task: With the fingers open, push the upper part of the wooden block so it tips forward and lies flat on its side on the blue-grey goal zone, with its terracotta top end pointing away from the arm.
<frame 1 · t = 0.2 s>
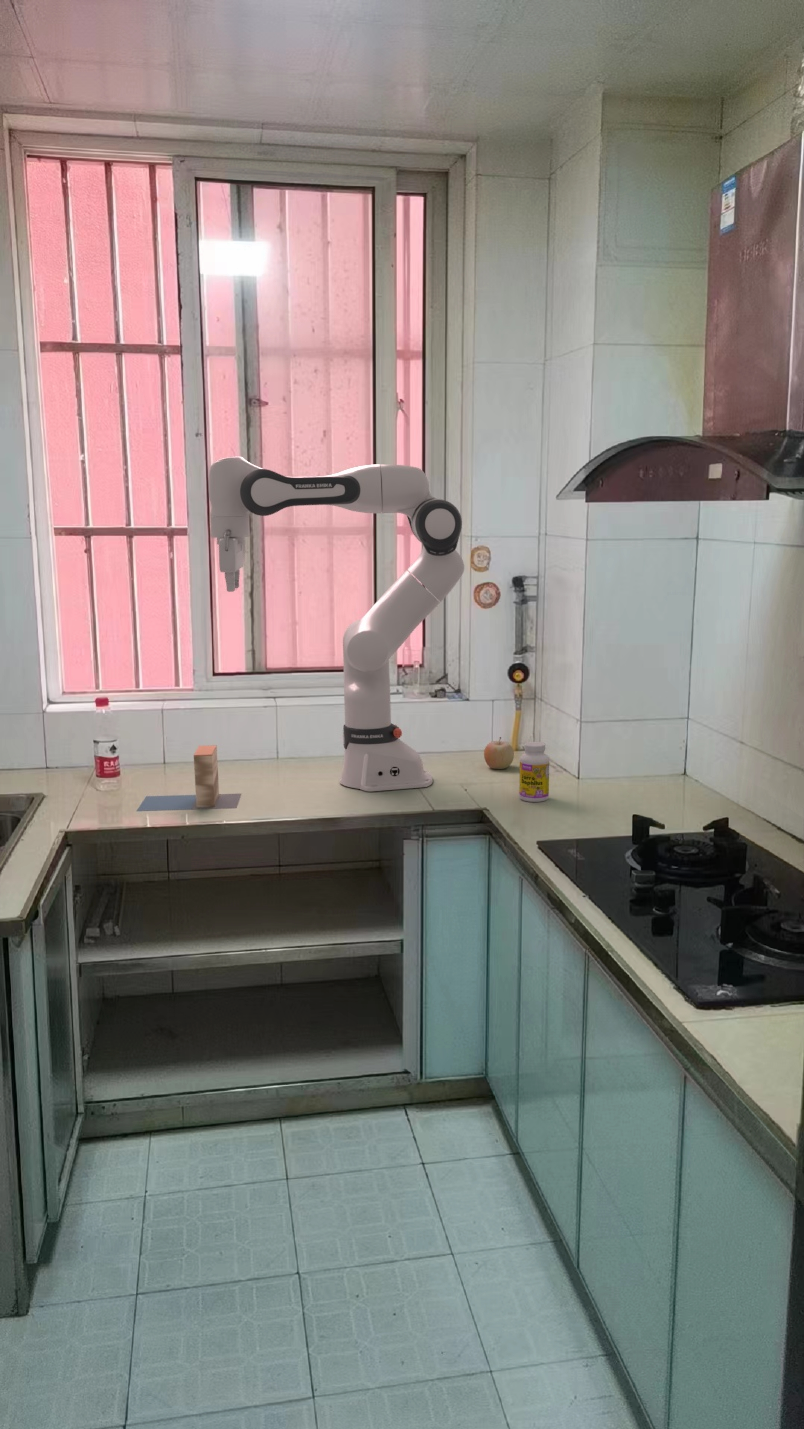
hand: (233, 589, 248), 47 cm above the counter, fingers open, 8 cm apart
wooden block: (208, 801, 242), resting on rubber mat
rubber mat: (192, 804, 242), on the counter
supplement bottle: (534, 799, 242), on the counter
fruit: (498, 768, 270), on the counter
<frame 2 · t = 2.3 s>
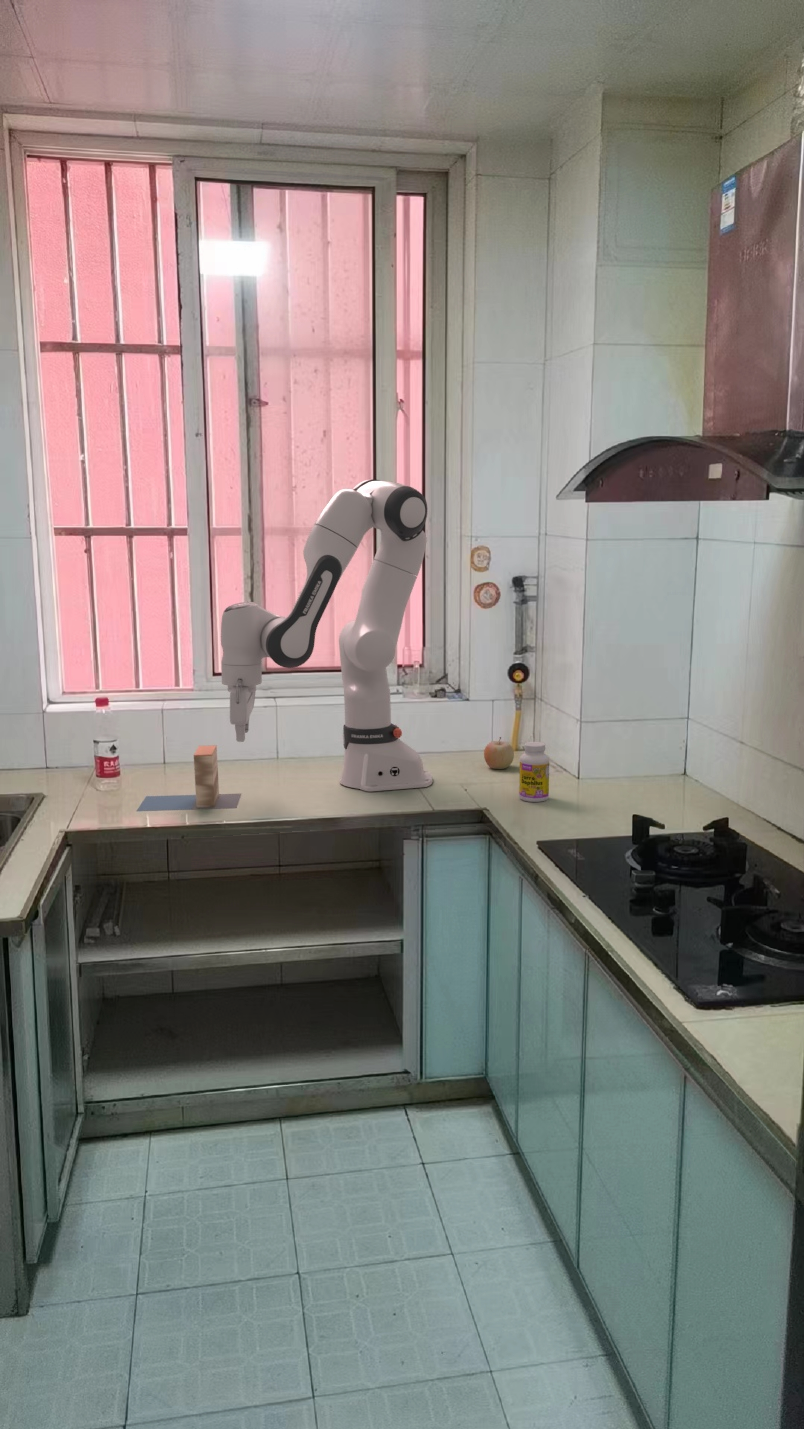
hand: (242, 736, 240), 15 cm above the counter, fingers open, 8 cm apart
nothing on the counter moved.
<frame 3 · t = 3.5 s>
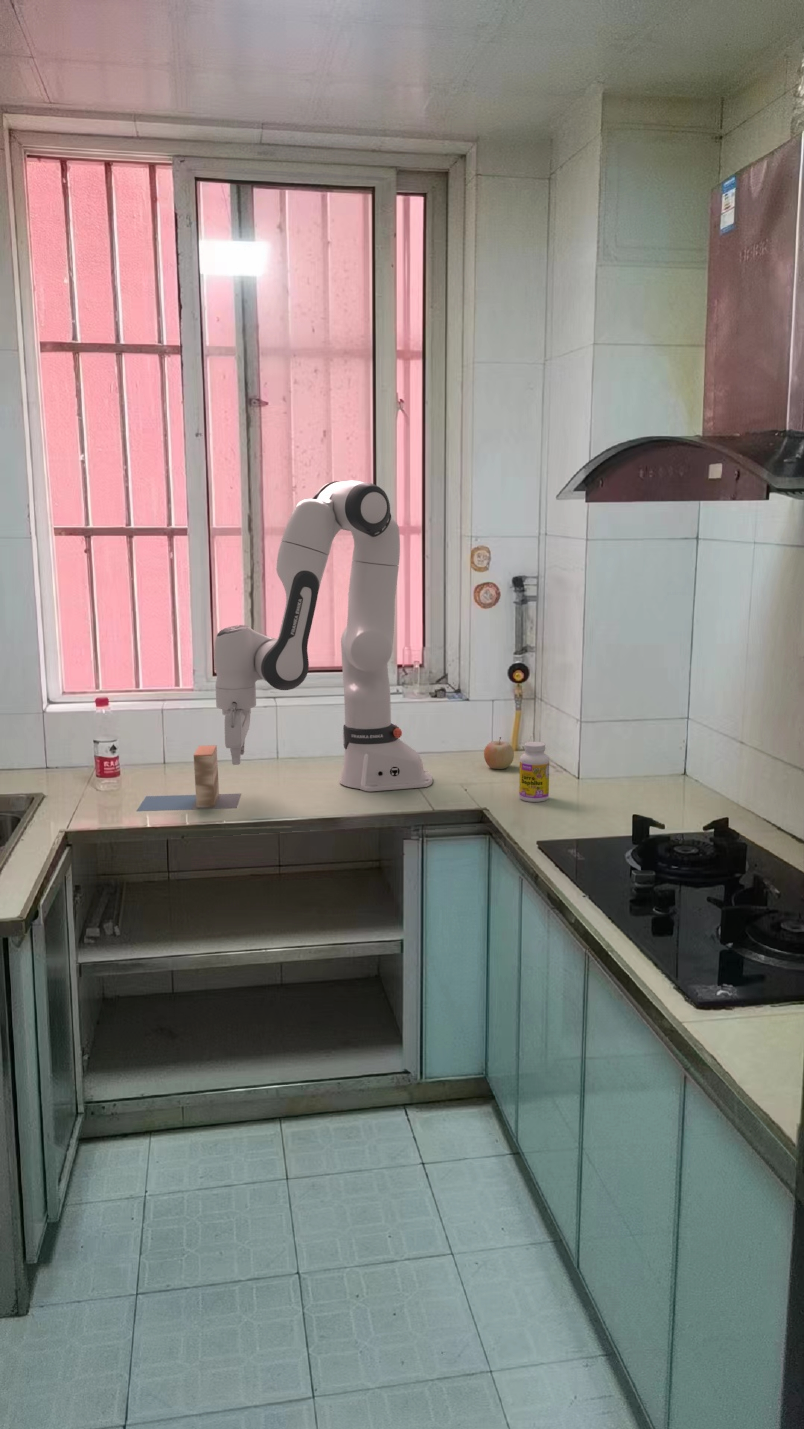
hand: (238, 759, 241), 10 cm above the counter, fingers open, 8 cm apart
nothing on the counter moved.
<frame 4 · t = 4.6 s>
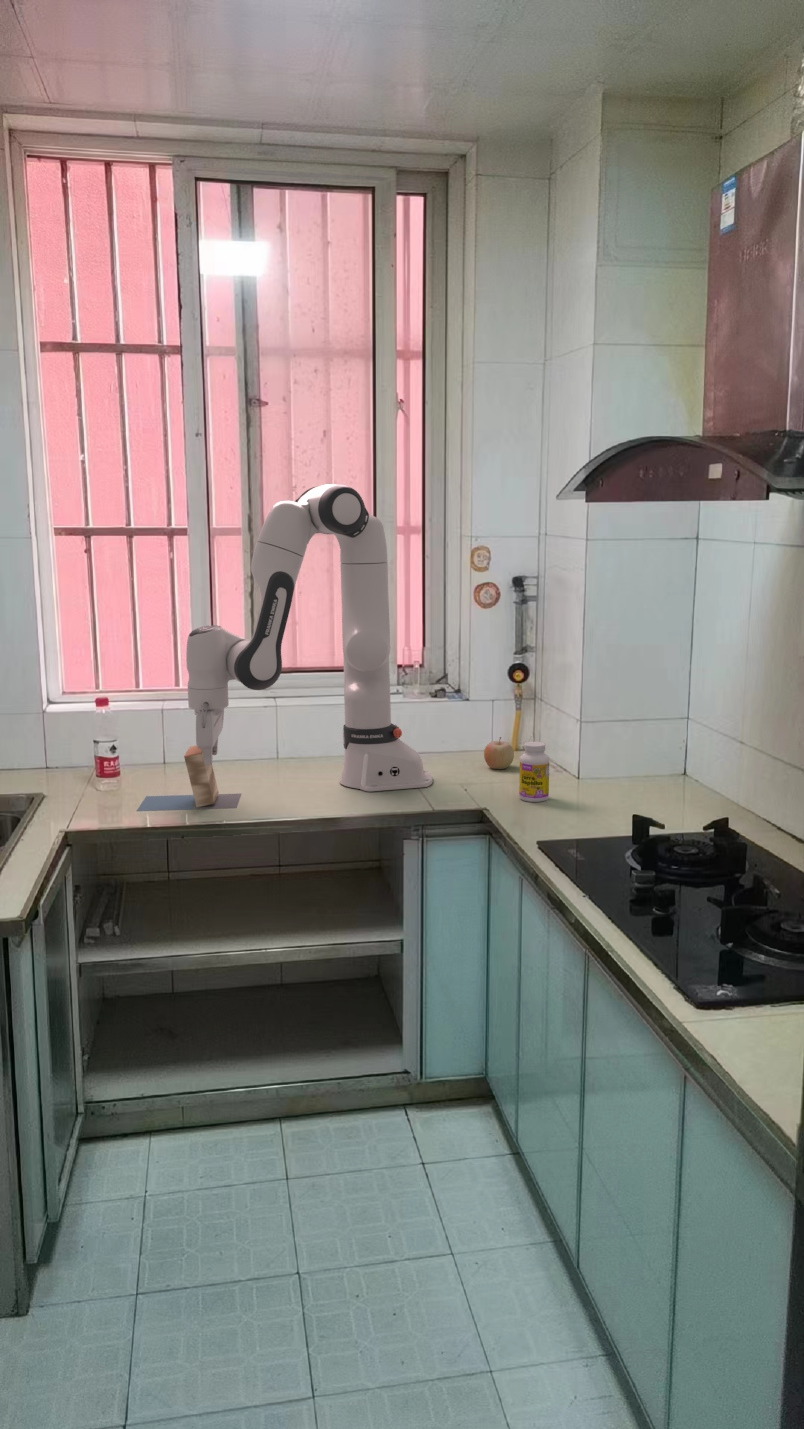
hand: (211, 759, 240), 10 cm above the counter, fingers open, 8 cm apart
wooden block: (207, 799, 242), point 1 cm above the counter, tilted 10°, touching gripper, rubber mat
everything else where it was.
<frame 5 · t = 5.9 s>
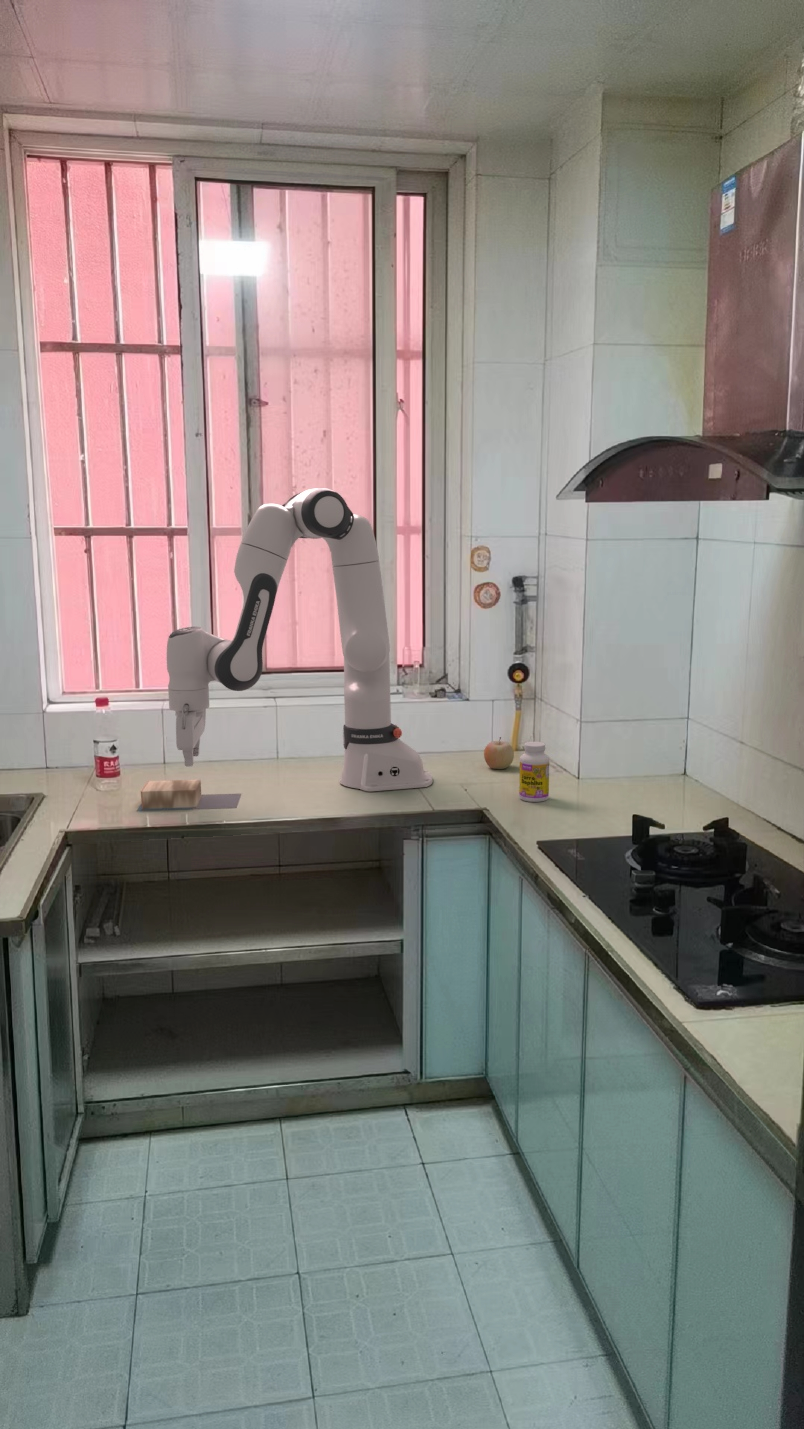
hand: (192, 760, 240), 10 cm above the counter, fingers open, 8 cm apart
wooden block: (198, 793, 242), point 2 cm above the counter, tilted 90°, touching rubber mat
everything else where it was.
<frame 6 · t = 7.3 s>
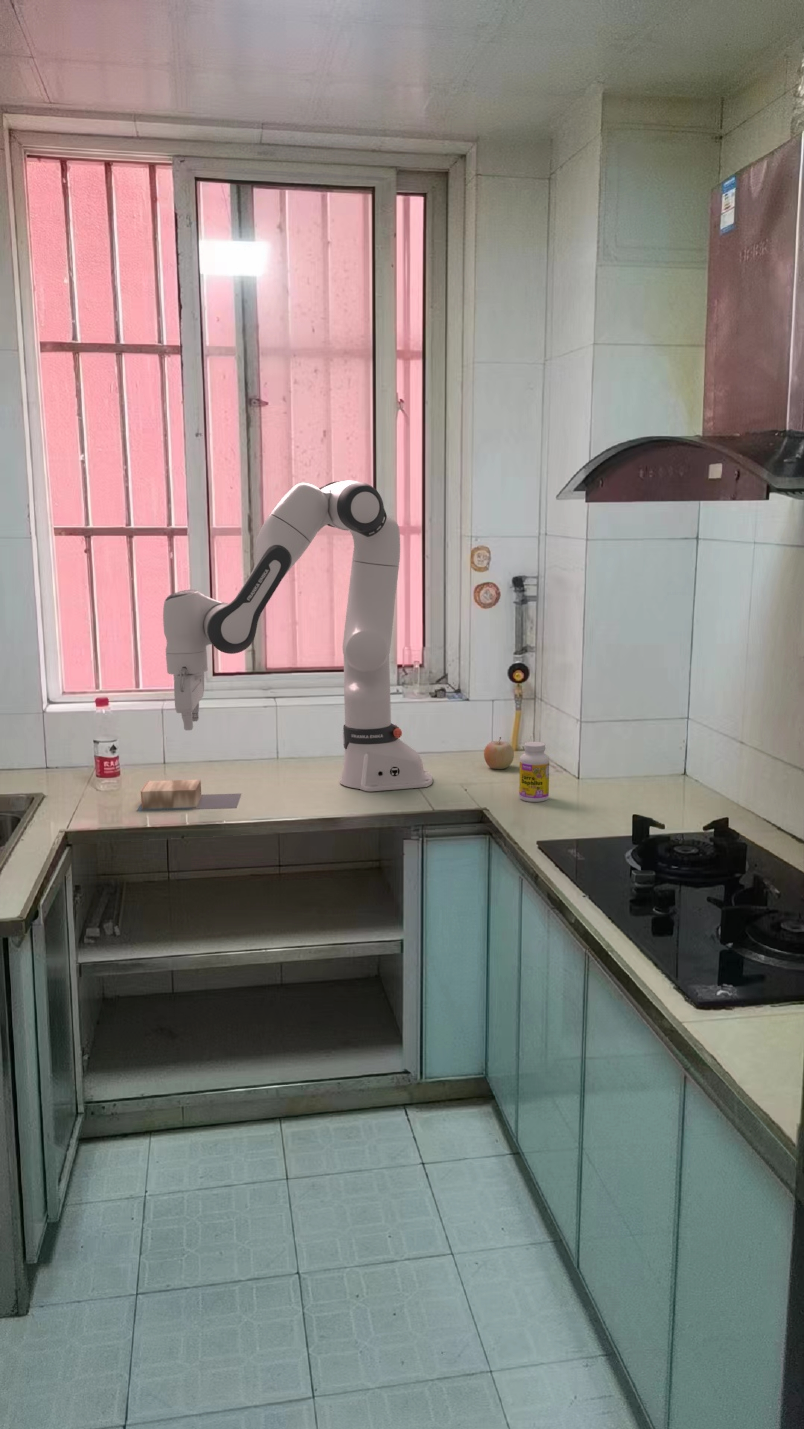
hand: (191, 725, 239), 18 cm above the counter, fingers open, 8 cm apart
nothing on the counter moved.
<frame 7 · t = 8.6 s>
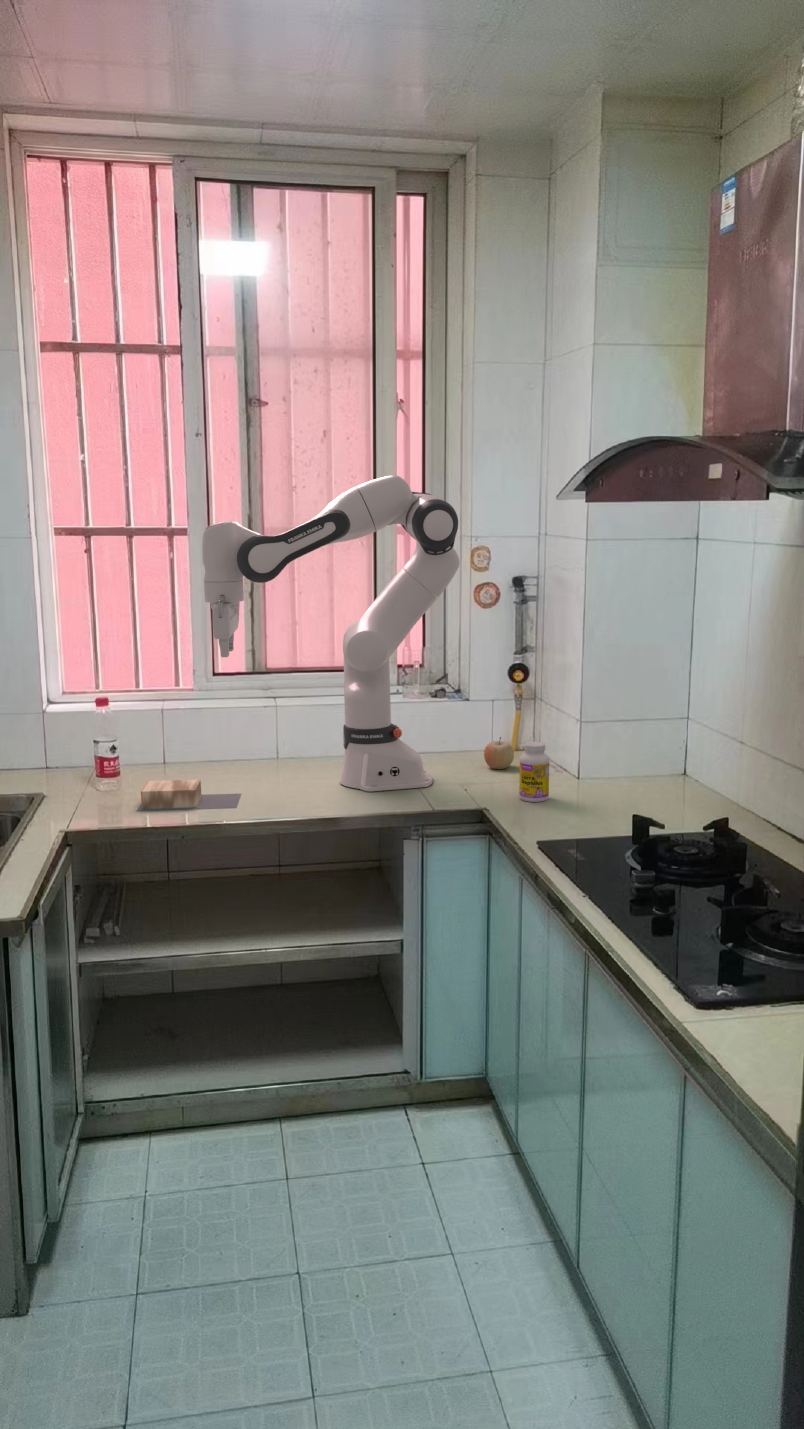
hand: (227, 654, 245), 33 cm above the counter, fingers open, 8 cm apart
nothing on the counter moved.
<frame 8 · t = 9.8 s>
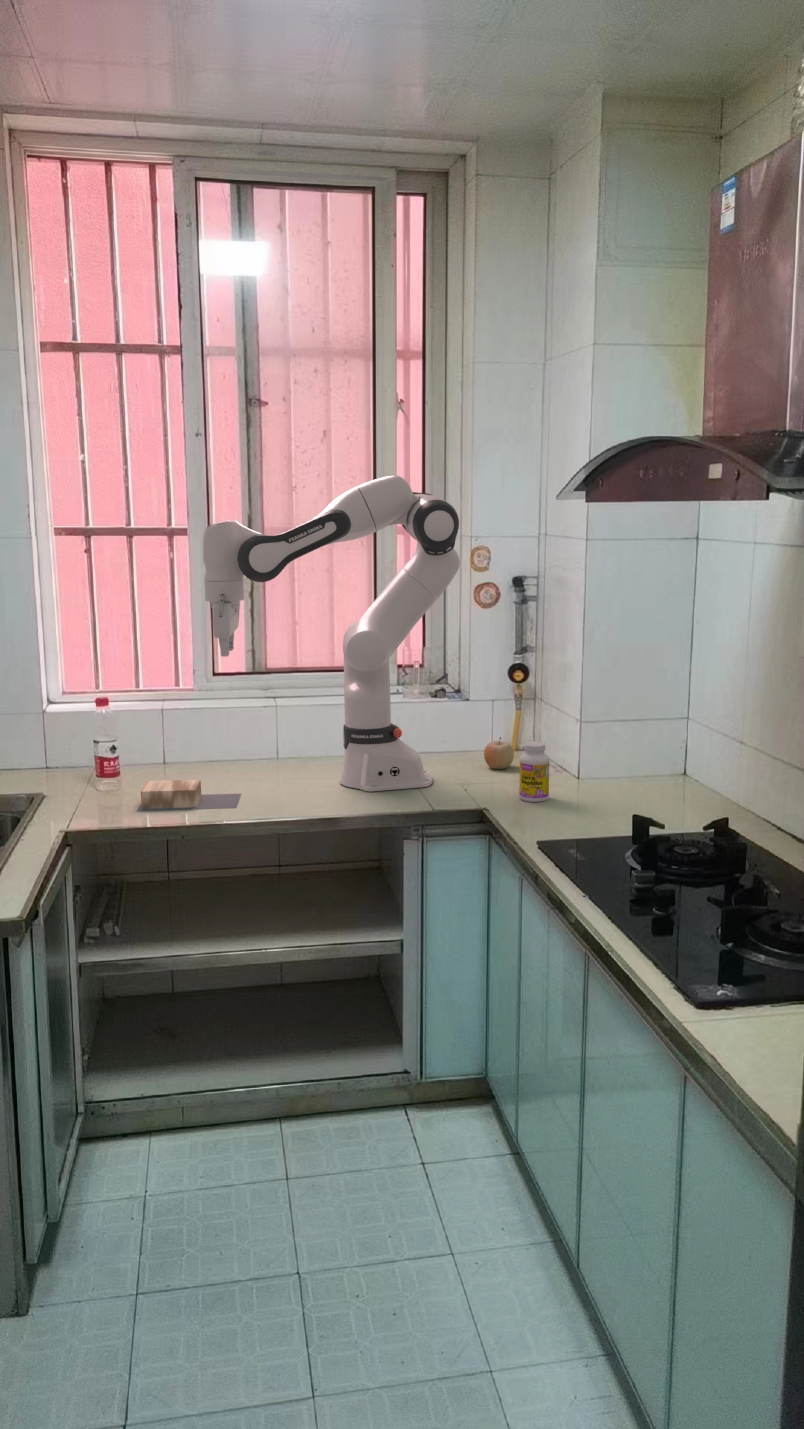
hand: (227, 653, 245), 33 cm above the counter, fingers open, 8 cm apart
nothing on the counter moved.
at the end: wooden block tilted 90°; wooden block inside the target area (0.9 cm from its centre), point 2.5 cm above the counter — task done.
